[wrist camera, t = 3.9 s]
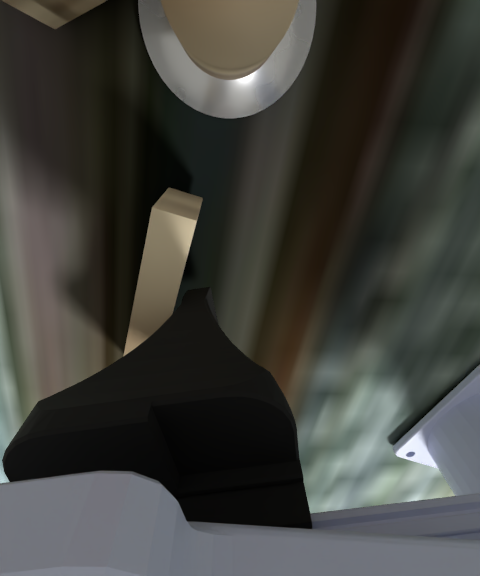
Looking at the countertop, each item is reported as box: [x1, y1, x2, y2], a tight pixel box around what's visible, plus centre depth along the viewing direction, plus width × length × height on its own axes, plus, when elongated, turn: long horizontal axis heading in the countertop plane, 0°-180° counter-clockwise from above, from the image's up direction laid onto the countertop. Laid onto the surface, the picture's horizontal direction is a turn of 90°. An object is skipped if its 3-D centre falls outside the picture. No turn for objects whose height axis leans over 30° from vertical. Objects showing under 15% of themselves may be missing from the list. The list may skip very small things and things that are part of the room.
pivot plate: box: [138, 0, 316, 118], centre depth 9 cm, size 5×5×1 cm
